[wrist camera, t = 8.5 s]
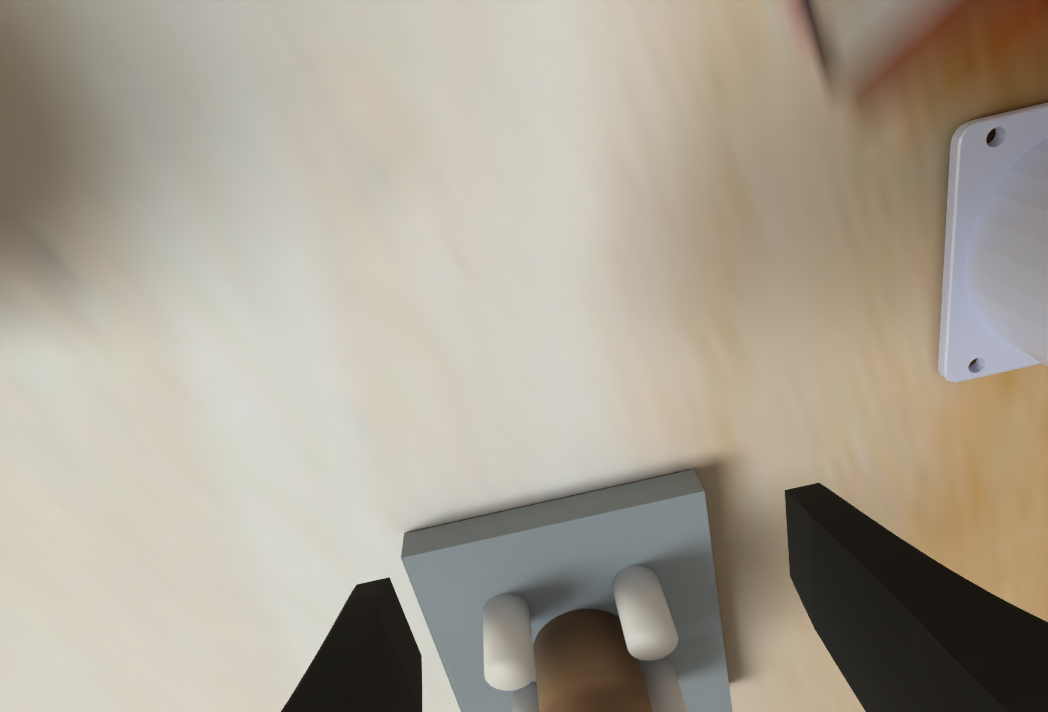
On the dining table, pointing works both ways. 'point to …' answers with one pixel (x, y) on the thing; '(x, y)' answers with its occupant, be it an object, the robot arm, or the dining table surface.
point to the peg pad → (576, 591)
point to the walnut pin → (587, 665)
